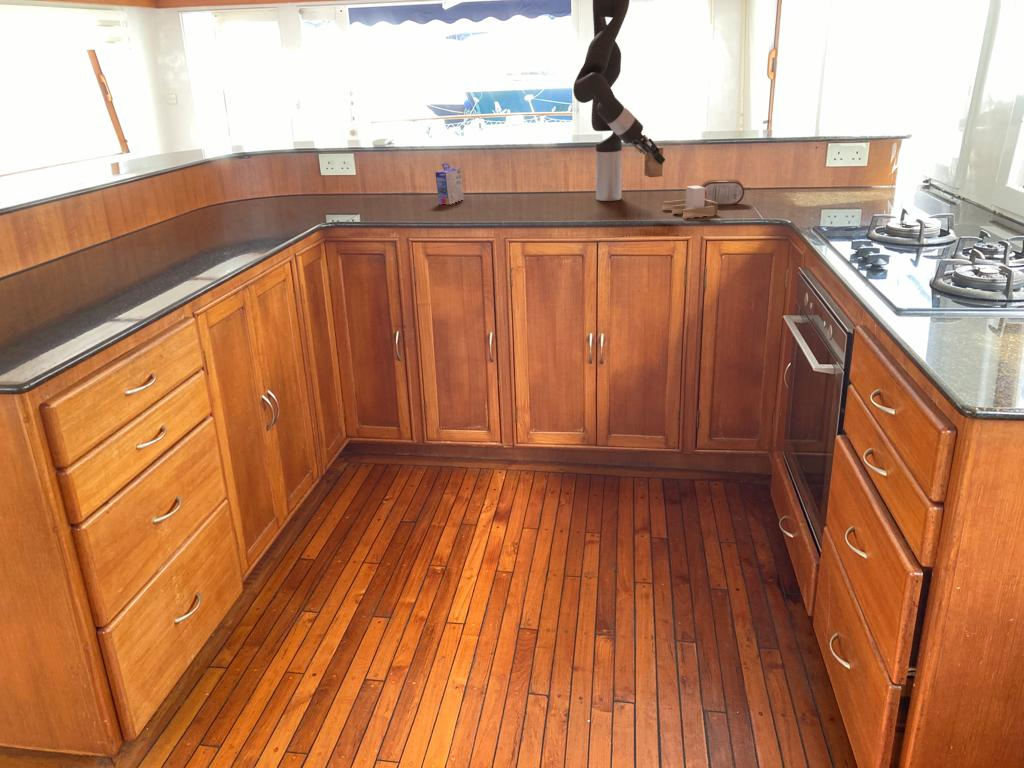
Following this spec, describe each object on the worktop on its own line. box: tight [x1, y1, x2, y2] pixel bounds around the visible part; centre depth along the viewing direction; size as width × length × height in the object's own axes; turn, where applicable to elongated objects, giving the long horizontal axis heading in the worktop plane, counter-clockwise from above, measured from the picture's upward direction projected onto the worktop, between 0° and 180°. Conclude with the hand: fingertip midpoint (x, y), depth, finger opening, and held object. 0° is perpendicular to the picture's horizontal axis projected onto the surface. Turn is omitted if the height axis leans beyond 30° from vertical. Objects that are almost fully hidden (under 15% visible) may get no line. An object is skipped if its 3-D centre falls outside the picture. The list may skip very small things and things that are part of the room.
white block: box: [685, 185, 705, 209], centre depth 259 cm, size 5×4×9 cm
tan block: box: [643, 145, 664, 178], centre depth 256 cm, size 5×4×9 cm
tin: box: [701, 179, 745, 206], centre depth 273 cm, size 15×3×8 cm, turn 84°
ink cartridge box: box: [435, 162, 465, 206], centre depth 300 cm, size 10×6×14 cm, turn 148°
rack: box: [661, 199, 719, 220], centre depth 263 cm, size 15×12×4 cm
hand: (658, 160), depth 257 cm, fingers closed on tan block, 5 cm apart
